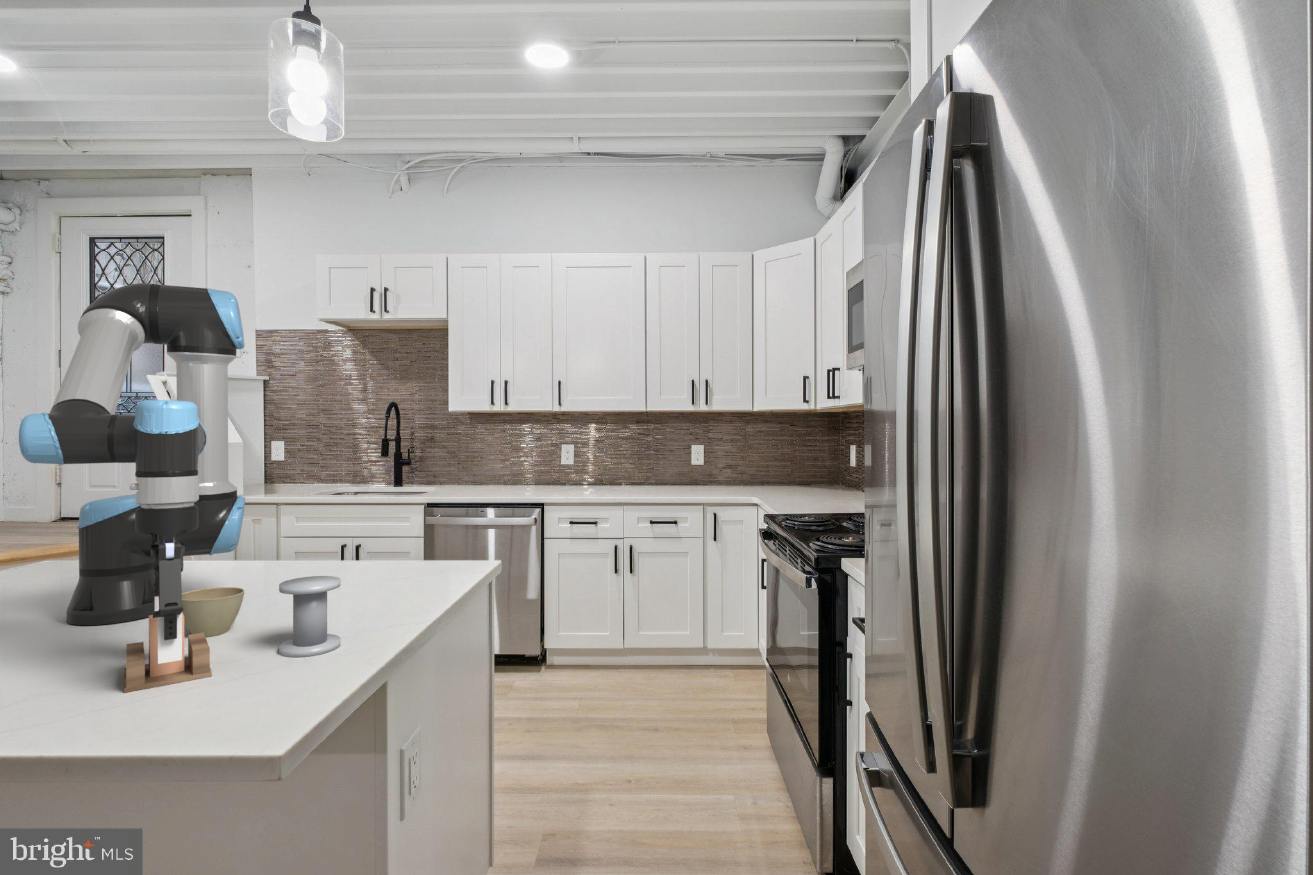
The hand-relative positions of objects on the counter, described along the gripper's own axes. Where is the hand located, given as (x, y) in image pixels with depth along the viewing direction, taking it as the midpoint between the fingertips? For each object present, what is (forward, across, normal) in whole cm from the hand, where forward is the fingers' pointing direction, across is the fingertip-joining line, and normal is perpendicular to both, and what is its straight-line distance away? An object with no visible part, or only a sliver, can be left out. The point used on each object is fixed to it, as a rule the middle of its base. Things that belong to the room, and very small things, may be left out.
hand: (167, 648), depth 97 cm
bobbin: (+4, 0, +19) cm, 19 cm away
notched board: (+4, 0, 0) cm, 4 cm away
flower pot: (+4, -20, +7) cm, 22 cm away
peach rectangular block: (+3, 0, 0) cm, 3 cm away
